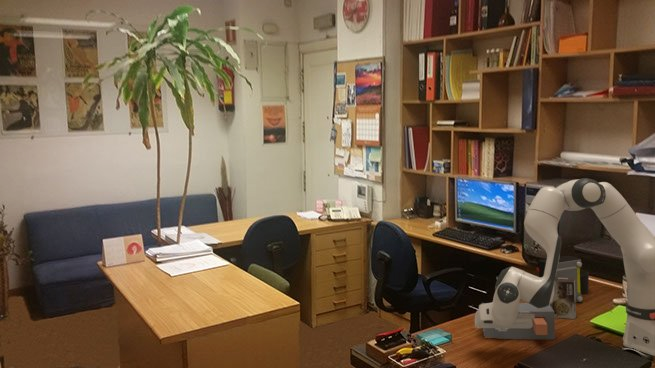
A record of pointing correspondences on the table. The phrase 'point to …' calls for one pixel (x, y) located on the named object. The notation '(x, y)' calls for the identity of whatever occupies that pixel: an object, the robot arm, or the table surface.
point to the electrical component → (566, 272)
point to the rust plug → (539, 326)
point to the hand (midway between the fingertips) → (502, 329)
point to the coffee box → (564, 298)
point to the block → (522, 332)
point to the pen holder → (584, 282)
